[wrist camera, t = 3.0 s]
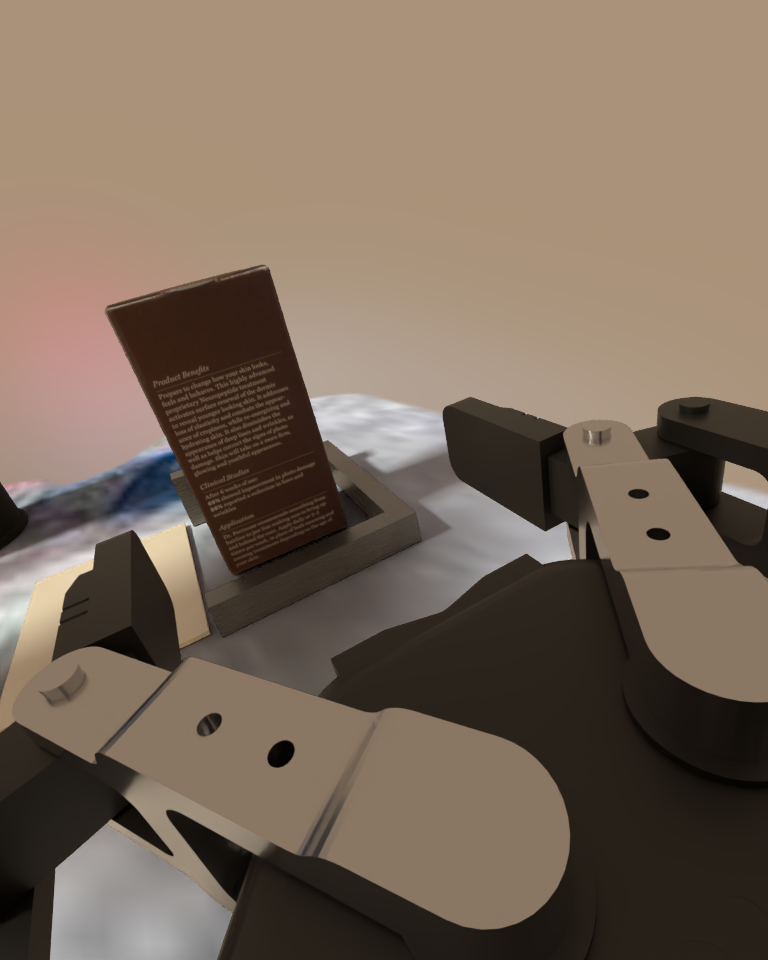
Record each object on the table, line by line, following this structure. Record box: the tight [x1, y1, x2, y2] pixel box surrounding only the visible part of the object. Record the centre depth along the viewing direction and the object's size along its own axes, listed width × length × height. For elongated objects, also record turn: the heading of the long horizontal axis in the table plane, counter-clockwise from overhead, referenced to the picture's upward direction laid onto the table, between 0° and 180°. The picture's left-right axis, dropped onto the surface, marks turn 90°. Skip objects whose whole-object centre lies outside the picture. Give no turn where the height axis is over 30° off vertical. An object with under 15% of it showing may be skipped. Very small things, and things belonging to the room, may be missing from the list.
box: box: [105, 265, 348, 575], centre depth 22 cm, size 6×4×12 cm
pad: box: [0, 523, 210, 732], centre depth 22 cm, size 8×10×1 cm
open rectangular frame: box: [170, 440, 422, 637], centre depth 24 cm, size 9×11×3 cm
